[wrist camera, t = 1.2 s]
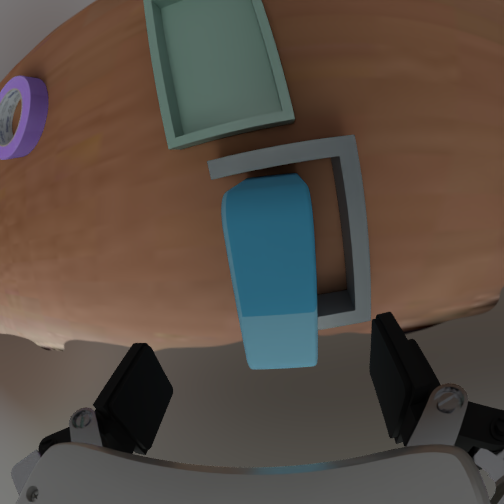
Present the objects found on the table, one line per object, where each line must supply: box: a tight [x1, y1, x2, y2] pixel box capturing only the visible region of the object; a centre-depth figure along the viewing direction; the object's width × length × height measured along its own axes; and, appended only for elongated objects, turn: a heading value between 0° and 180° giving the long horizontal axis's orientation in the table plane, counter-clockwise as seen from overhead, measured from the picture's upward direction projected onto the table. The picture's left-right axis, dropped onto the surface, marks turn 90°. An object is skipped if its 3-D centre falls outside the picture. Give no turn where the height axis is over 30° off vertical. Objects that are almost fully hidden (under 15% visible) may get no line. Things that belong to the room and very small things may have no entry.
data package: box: [221, 173, 318, 369], centre depth 20 cm, size 12×4×12 cm, turn 8°
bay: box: [207, 135, 371, 330], centre depth 24 cm, size 12×16×4 cm
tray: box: [144, 0, 295, 149], centre depth 19 cm, size 11×18×3 cm, turn 12°
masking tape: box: [0, 76, 48, 160], centre depth 22 cm, size 12×12×4 cm
